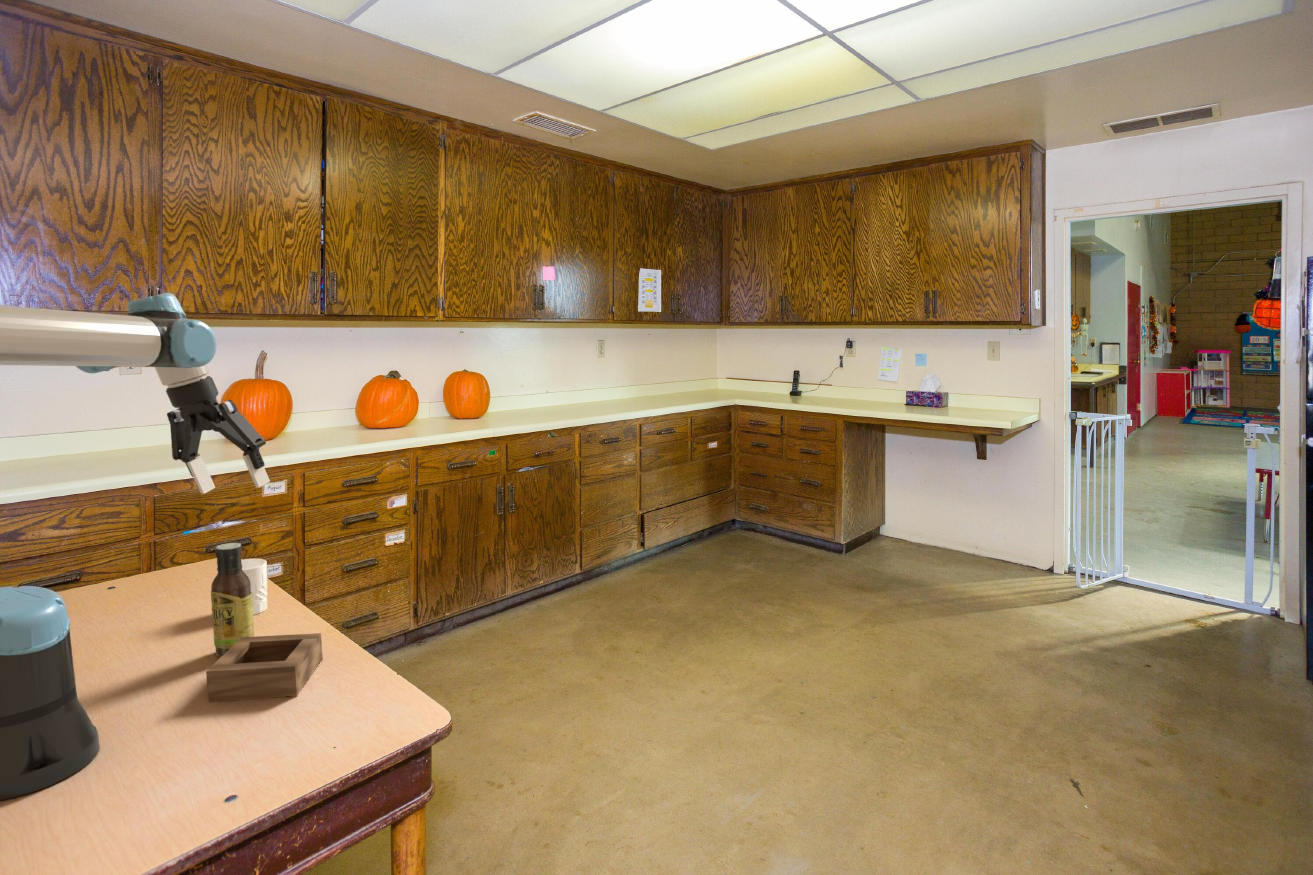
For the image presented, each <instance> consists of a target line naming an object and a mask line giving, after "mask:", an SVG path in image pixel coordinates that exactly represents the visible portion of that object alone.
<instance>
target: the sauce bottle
mask: <svg viewBox="0 0 1313 875" xmlns="http://www.w3.org/2000/svg"><path fill="white" fill-rule="evenodd" d="M242 548H243V547H242V544H241V543H238V542H227V543H221V544H218V545H217V546H215V548H214V553H215V554H214V555H215V557H216V566H217V568H216V570H217V574H216V576H215V577H214V578H213V581H212V582H211V587H210V588H211V589H210V590H211V591H210V599H211V600H210V601H211V612H212V613H211V614H212V615H211V616H212V628H213V629H212V631H213V644H214V646H215V654H216V655H217V656H218V657H219V658H221V657H222V656H223V655H224V654H225V653H226V652H227V651H228V650H229V649H230V648H231V647H232V646H233V645H234V644H235V643H236V642H237V641H238V640H239V639H240V638H241V637H255V630H254V615H253V608H252V593H251V586H250V579H249V578H248V576H247V575H246V574H245V573H244V572H243V570H242V564H241V560H242V552H243V549H242Z"/></svg>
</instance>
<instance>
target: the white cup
mask: <svg viewBox="0 0 1313 875" xmlns="http://www.w3.org/2000/svg"><path fill="white" fill-rule="evenodd" d="M241 564H242V570H243V572H244V573H245V574H246V575H247V576H248V578H249V579H250V586H251V593H252V608H253V616H255V615H259V614H261V613H263V612H264V611H266V609H268V568H267V567H268V565H267V560H266V559H262V558H245V559H241Z"/></svg>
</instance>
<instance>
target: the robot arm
mask: <svg viewBox="0 0 1313 875" xmlns="http://www.w3.org/2000/svg"><path fill="white" fill-rule="evenodd" d="M126 304H127V305H126V306H127V309H128V314H125V315H124V314H115V313H114V314H111V313H103V312H102V313H100V312H99V313H98V312H89V311H88V312H87V311H75V310H74V311H73V310H64V309H62V310H61V309H53V308H52V309H51V308H38V307H29V306H28V307H27V306H14V305H1V304H0V366H37V367H38V366H41V367H42V366H46V367H49V366H52V367H53V366H55V367H76V368H77V369H79V371H82V372H84V373H86V374H87V373H88V374H98V373H101V372H102V373H103V372H110V371H111V370H113V369H115V368H122V367H123V368H124V367H128V368H130V367H131V368H154V369H155V371H156V374H157V376H158V378H159V380H160V383H161V384H162V386H164V387H165V386H166V387H167V388H166V390H165V392H166V395H167V397H168V399H169V401H170V404H171V406H172V407H173V408H176V409H172V411H169V412H167V413H166V416H167V419H168V422H169V424H170V425H169V426H170V441H171V442H170V443H171V455H172V456H171V457H172V459H173V460H174V461H178V460H179V461H182V463H185V465H186V468H187V469H188V472H189V474H190V476H191V477H192V478H193V480H194V481H195V484H196V486H197V488H198V490H199V492H200V494H201V495H204V494H206V493H208V492H210V491H212V490H214V489H215V488H216V486H215V484H214V482H213V480H212V477H211V475H210V472H209V470H208V469H207V466H206V464H205V462H204V459H203V457H202V456H201V454H199V453H198V452H199V447H200V442H201V439H202V433H203V432H204V431H212V430H213V432H216V433H220V434H221V435H222V436H223V437H224V438H226V439H227V440H228V441H229V442H231V444H234V445H235V446H236V447H237V448H238V449H240V450H241V451H242V452H243V454H242V455H241V456H242V460H243V461H244V463H245V465H246V467H247V470H248V472H249V475H250V477H251V479H252V481H253V484H254V486H255V488H257V489H258V488H261V487H263V486H265V485H266V484H268V483H270V482H271V480H270V478H269V475H268V473H267V471H266V469H265V461H264V460H263V457H262V454H261V452H260V448H262V447H263V446H265V445H266V444H267V443H266V440H265V439H264V438H263V437H262V435H261V434H260V433H259V432H258V431H257V430H256V428H255V427H254V426H253V425H252V423H251V422H249V421H248V419H247V418H246V417H245V416H244V415H243V414H242V413H241V412H240V411H239V409H238V407H237V405H236V403H235V402H234V400H233V399H229V400H226V401H224V402H222V403H220V402H219V400H218V399H217V396H219V390H218V387H217V386H216V384H215V382H214V379H213V377H211V376H210V375H208V374H209V373H210V370H209V368H208V364H210V363H211V361H212V360H213V359H214V357H215V355H216V352H217V339H216V335H215V333H214V331H213V329H211V327H210V326H209V325H208V324H207V323H205V322H203V321H200V320H198V319H188V318H187V315H186V313H185V311H184V309H183V307H182V306H181V303H180V301H179V299H178V297H176V295H175V294H174V293H171V292H164V293H159V294H156V295H151V296H147V297H142V298H139V299H138V298H137V299H134V300H130V301H128V302H127V303H126ZM70 627H71V619H70V616H69V614H68V610H67V606H66V602H65V600H64V599H63V597H62V596H61V595H60V594H59V593H58V592H56V591H54V590H52V589H49V588H45V587H40V586H34V585H20V586H18V587H14V586H0V801H3V800H8V799H12V798H16V797H20V796H24V795H27V794H30V793H33V792H36V791H39V790H43V789H45V788H48V787H50V786H52V785H55V784H57V783H58V782H61V781H64V780H65V779H67V778H69V777H71V776H72V775H74V774H76V773H78V772H79V771H81V770H83V769H84V768H85V767H87V766H88V765H89V764H90V763H91V762H92V761H93V760H94V759H95V758H96V757H97V755H98V754H99V752H100V749H101V745H100V738H99V733H98V729H97V728H96V726H95V725H94V724H93V722H92V720H91V718H90V717H89V715H88V713H87V711H86V709H85V708H84V707H83V704H82V703H81V701H80V699H79V698H78V691H77V685H76V674H75V665H74V657H73V648H72V640H71V632H70V631H71V630H70Z"/></svg>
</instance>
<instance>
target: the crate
mask: <svg viewBox="0 0 1313 875" xmlns="http://www.w3.org/2000/svg"><path fill="white" fill-rule="evenodd" d="M322 644H323V643H322V632H318V633H317V632H315V633H300V634H299V633H298V634H295V633H294V634H281V635H279V634H277V635H263V636H261V635H259V636H258V635H257V636H254V637H241V638H240V639H239V640H238V641H237V642H236V643H235V644H234V645H233V646H232V647H231V648H230V649H229V650H228V651H227V652H226V653H225V654H224V655H223V656H222V657H219V659H218V660H216V661H215V662H214V663H213V665H211V666H210V667H209V668H208V669H207V670H206V671H205V673H206V685H207V698H208V702H209V703H210V702H211V703H212V702H225V701H230V702H231V701H244V700H246V701H247V700H258V699H260V700H261V699H274V697H278V698H285V697H284V696H293V697H298V696H299V694H300V693H301V691H302V690H303V689H302V688H304V687H305V686H306V684H307V683H308V682H309V680H310V679H311V677H312V676H313V675H314V673H315V672H316V671H315V670H317V669H318V668H317V667H319V666H320V665H321V664H320V662H321V661H322V660H324V659H323V658H324V657H323V645H322ZM322 662H323V661H322ZM322 662H321V663H322ZM319 664H320V665H319ZM318 665H319V666H318ZM316 668H317V669H316ZM314 671H315V672H314ZM313 672H314V673H313ZM312 674H313V675H312ZM311 675H312V676H311ZM310 676H311V677H310ZM309 678H310V679H309ZM307 681H308V682H307ZM306 682H307V683H306ZM304 685H305V686H304ZM299 692H300V693H299ZM297 695H298V696H297ZM272 697H273V698H272Z"/></svg>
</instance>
